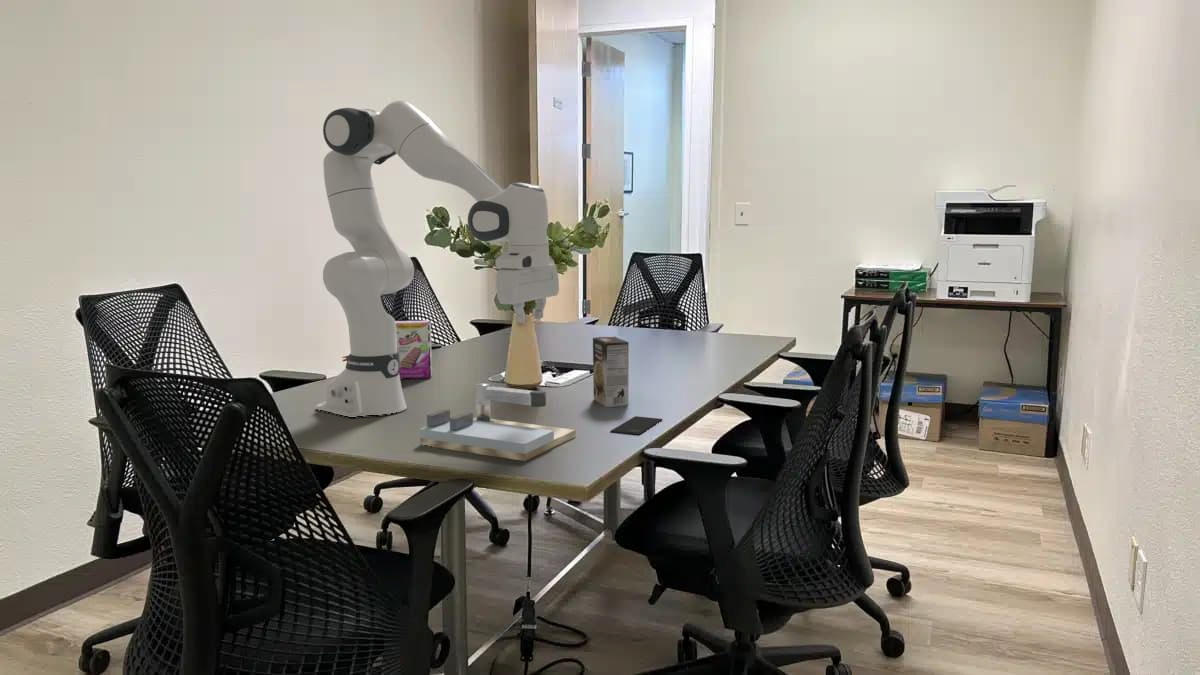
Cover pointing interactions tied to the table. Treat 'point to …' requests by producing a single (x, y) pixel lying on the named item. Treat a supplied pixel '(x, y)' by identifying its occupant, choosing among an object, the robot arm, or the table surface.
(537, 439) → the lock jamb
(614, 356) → the coffee box
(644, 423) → the smartphone
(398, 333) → the candy bar box
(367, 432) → the table surface
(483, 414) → the lock bar
